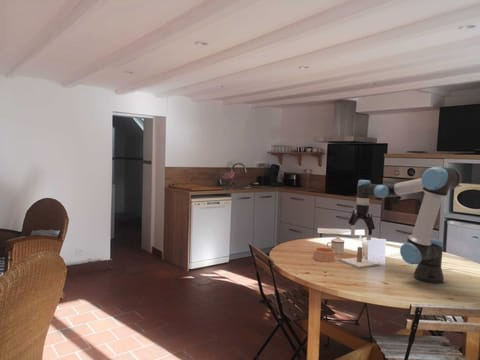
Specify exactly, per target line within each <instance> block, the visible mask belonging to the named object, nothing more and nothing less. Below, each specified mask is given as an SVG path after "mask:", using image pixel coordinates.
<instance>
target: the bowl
mask: <svg viewBox="0 0 480 360" xmlns="http://www.w3.org/2000/svg"><path fill="white" fill-rule="evenodd" d="M329 248H330V247H329ZM329 248H327V247H316V248H314V249H313V259H314V261H316V262H323V263H331V262H335V259H336V257H335V256H336V254H335V251H334V250H333V249H329Z"/></svg>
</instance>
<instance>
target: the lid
mask: <svg viewBox="0 0 480 360" xmlns="http://www.w3.org/2000/svg"><path fill="white" fill-rule="evenodd" d="M356 251H357V253H356V257H350V258H343V259H342V258H341V259H340V260H341V261H342V262H341V263H343V262H345V263H348V264H350V265H353V266H356V267H358V268H362V267H370V266H377V265H379V263H377V262H374V261H372V260H369V259H366V258H363V246H362V247H361V246H357V250H356ZM345 263H344V264H345ZM348 264H347V265H348ZM350 265H349V266H350ZM353 266H352V267H353ZM356 267H355V268H356ZM377 267H378V266H377ZM358 268H357V269H358ZM370 268H371V267H370ZM362 269H363V268H362Z"/></svg>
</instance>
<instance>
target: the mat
mask: <svg viewBox="0 0 480 360" xmlns="http://www.w3.org/2000/svg"><path fill="white" fill-rule="evenodd" d="M337 262H341V263H343V264H346V265H347V266H351V267H353V268H356V269H358V270H360V269H366V268H367V269H370V268H375V267H381V266H382V265H381V264H378V265H377V266H370V267H362V268H358V267H356V266H353V265H350V264H348V263H345V262H342V261H341V259H340V260H337Z"/></svg>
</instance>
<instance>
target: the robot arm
mask: <svg viewBox="0 0 480 360" xmlns="http://www.w3.org/2000/svg"><path fill="white" fill-rule="evenodd" d="M357 182H358V183H357V192H356V193H357V194H356V195H357V196H356V207H355V210H352V213H351V217H350V218H349V221H348V224H349V225H350V236H355V235H356V233H355V232H356V223H357V222H358V221H359V220H363V222H364V223H365V225H366V227H367V229H366V241H371V240H372V239H371V237H372V233H373V230H376V227H375V222H374V220H373V214H372V213H368V212H369V209H370V208H369V207H370V205H369V204H370V197H375V198H379V199H384V198H389V197H390V198H395V197H398V196H404V195H408V194H414V193H420V192H424V194H423V199H422V200H421V201H422V202H421V205H420V209H419V212H418V215H417V217H416V218H417V219H416V221H415V224H414V227H413V231H412V234H410V235H408V236H407V240H406V242H405V243H403V244H402V245H401V246H400V250H399V254H400V256H401V258H402V260H403V261H404V262H405V263H407V264H409V265H416V268H415V270H414V272H413V278H415V280H418V281H421V282H425V283H428V284H429V283H430V284H442V283H444V282H445V277H444V273H443V272H444V271H443V269H442V264H443V263H442V262H443V261H442V260H443V251H444V247H443V246H444V245H443V244H444V243H443V241H441V240H439V239H435V238H431V236H432V232H433V230H434V227H435V223H436V219H437V217H438V214H439V210H440V207H441V204H442V201H443V199H444V198H445V197H447V196H448V193H449V190H454V189H455V188H457V187H459V186H460V184H461V183H462V174H461V173H460V171H459V170H457V168H453V167H447V166H446V167H443V166H433V167H429V168H428V169H425V171H423V173H422V175H421V178H415V179H410V180H406V181H401V182H397V183H392V184H373V183H371V180H369V179H368V180H367V179H359V180H358V181H357Z"/></svg>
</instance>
